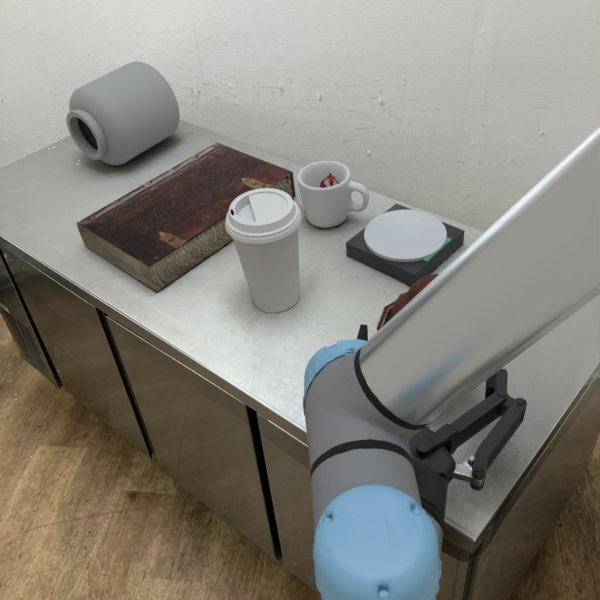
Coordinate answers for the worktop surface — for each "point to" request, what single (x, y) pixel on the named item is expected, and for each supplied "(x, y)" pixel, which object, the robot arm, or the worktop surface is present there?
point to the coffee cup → (267, 246)
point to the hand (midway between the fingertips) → (426, 340)
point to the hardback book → (178, 214)
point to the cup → (329, 193)
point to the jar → (122, 113)
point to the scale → (405, 243)
